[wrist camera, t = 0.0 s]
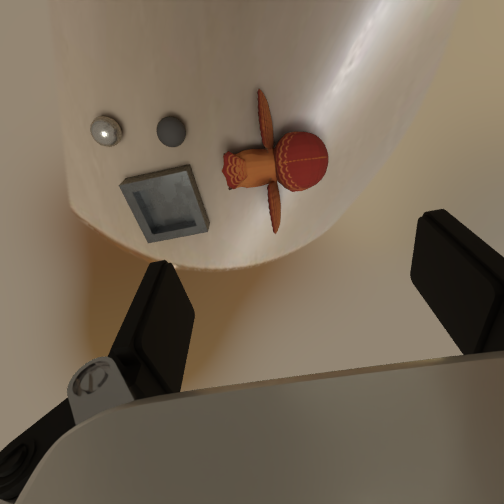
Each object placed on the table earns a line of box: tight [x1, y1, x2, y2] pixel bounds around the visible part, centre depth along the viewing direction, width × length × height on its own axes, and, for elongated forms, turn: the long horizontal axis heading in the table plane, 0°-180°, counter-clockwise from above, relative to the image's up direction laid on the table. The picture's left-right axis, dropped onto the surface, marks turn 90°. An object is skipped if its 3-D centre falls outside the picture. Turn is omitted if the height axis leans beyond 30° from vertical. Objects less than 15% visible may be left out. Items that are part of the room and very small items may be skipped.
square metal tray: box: [119, 164, 210, 243], centre depth 48 cm, size 11×11×3 cm
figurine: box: [222, 89, 328, 233], centre depth 42 cm, size 20×9×15 cm
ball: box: [157, 117, 186, 147], centre depth 41 cm, size 4×4×4 cm
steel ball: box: [90, 116, 122, 147], centre depth 41 cm, size 4×4×4 cm
